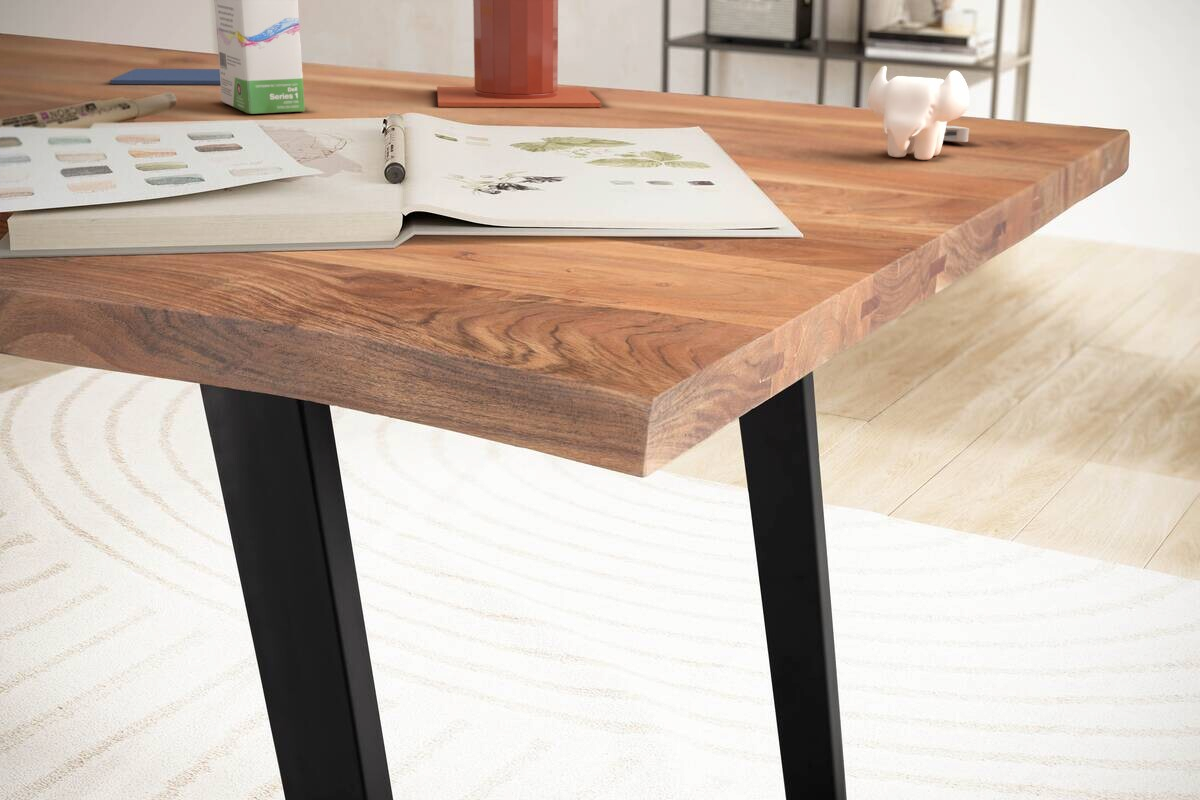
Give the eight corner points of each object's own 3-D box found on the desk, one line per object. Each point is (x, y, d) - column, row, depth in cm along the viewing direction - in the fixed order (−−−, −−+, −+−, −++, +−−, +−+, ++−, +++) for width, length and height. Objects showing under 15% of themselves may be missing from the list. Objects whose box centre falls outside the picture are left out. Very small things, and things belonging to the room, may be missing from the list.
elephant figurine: (846, 160, 85) (853, 69, 83) (879, 145, 92) (887, 60, 90) (947, 170, 83) (957, 75, 81) (974, 153, 89) (984, 66, 87)
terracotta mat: (438, 106, 109) (437, 102, 108) (437, 91, 120) (437, 86, 120) (601, 107, 110) (601, 102, 110) (585, 91, 122) (585, 87, 121)
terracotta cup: (476, 103, 111) (474, -5, 108) (473, 93, 118) (471, -8, 115) (560, 104, 112) (561, -4, 109) (553, 94, 119) (553, -7, 116)
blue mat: (110, 84, 120) (110, 79, 120) (135, 72, 130) (135, 68, 130) (230, 84, 122) (230, 80, 121) (246, 73, 132) (245, 69, 132)
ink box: (307, 112, 104) (298, -42, 100) (246, 115, 101) (235, -42, 97) (277, 100, 111) (268, -44, 107) (219, 103, 108) (208, -44, 104)
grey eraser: (899, 138, 98) (900, 123, 97) (925, 137, 99) (926, 122, 98) (951, 144, 92) (952, 127, 92) (978, 142, 93) (978, 126, 93)
